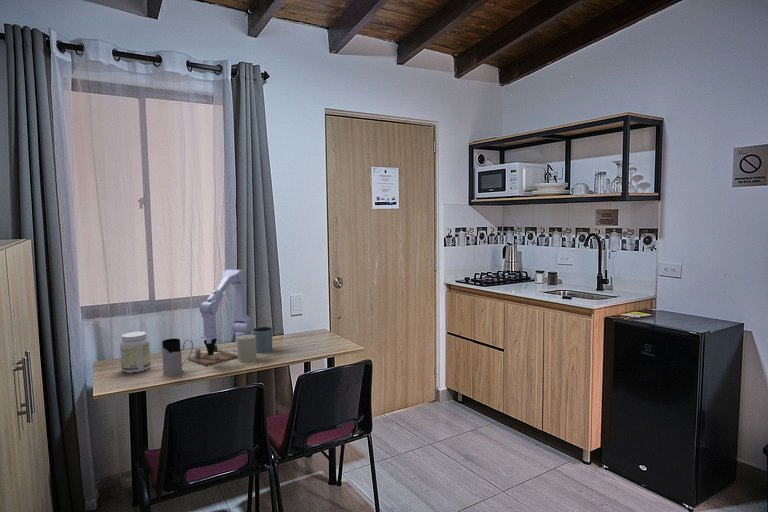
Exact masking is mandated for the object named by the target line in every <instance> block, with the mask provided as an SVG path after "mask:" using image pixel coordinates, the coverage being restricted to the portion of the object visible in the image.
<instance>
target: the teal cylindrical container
mask: <svg viewBox="0 0 768 512" xmlns="http://www.w3.org/2000/svg"><path fill="white" fill-rule="evenodd" d="M252 332H253V335H255V336H256V354H269V353H271V352H273V332H274V329H273V327H271V326H260V327H255V328H254V327H253V329H252ZM268 352H269V353H268Z"/></svg>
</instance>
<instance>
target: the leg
mask: <svg viewBox="0 0 768 512" xmlns="http://www.w3.org/2000/svg"><path fill="white" fill-rule="evenodd" d="M200 358H205V359H214V360H217V359H219V353H218V352H214V354H213V355H208V351H205V350H202V351H200Z"/></svg>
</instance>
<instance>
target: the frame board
mask: <svg viewBox="0 0 768 512" xmlns="http://www.w3.org/2000/svg"><path fill="white" fill-rule="evenodd" d="M194 352H195V353H194V355H195V356H192V357H190V356H189V358H188V359H187V361H189V362H192V363H195V364H197V365H200V364H201V366H203V365H204V367H208V365H210V366H212V364H213V365H216V364H215V363H217V364H219V363H218V362H221V363H223V362H222V361H224V362H227V361H226V360H228V361H230V360H229V359H232V360H234V359H233V358H236V359H238V354H234V353H231V352H227V351H225V350H222V349H219V350H218V345H216V344H215V347H214V352H218V353H219V359H217V360H214V359H205V358H200V352H201V349H200V348H196V349H194Z"/></svg>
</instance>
